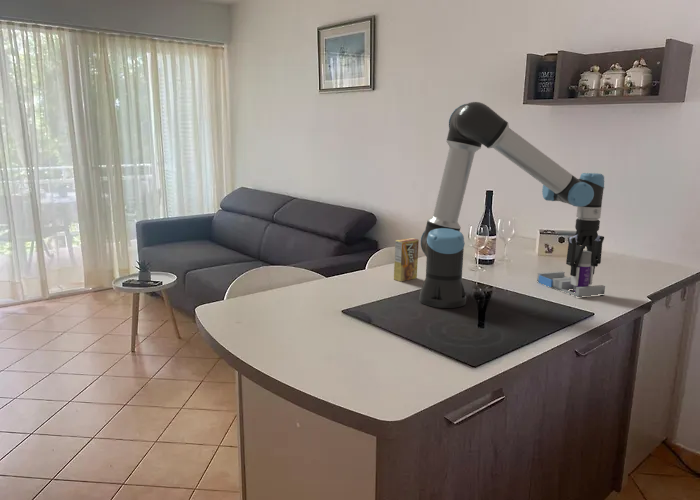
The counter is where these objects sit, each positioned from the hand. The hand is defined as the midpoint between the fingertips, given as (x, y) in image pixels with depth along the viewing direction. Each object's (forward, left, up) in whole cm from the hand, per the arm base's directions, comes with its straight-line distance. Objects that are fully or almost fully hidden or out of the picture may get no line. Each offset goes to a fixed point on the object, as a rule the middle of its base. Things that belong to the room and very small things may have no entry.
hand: (581, 284), depth 187 cm
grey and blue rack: (0, +6, -3) cm, 7 cm away
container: (0, 0, -3) cm, 3 cm away
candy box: (-52, +34, -3) cm, 62 cm away
